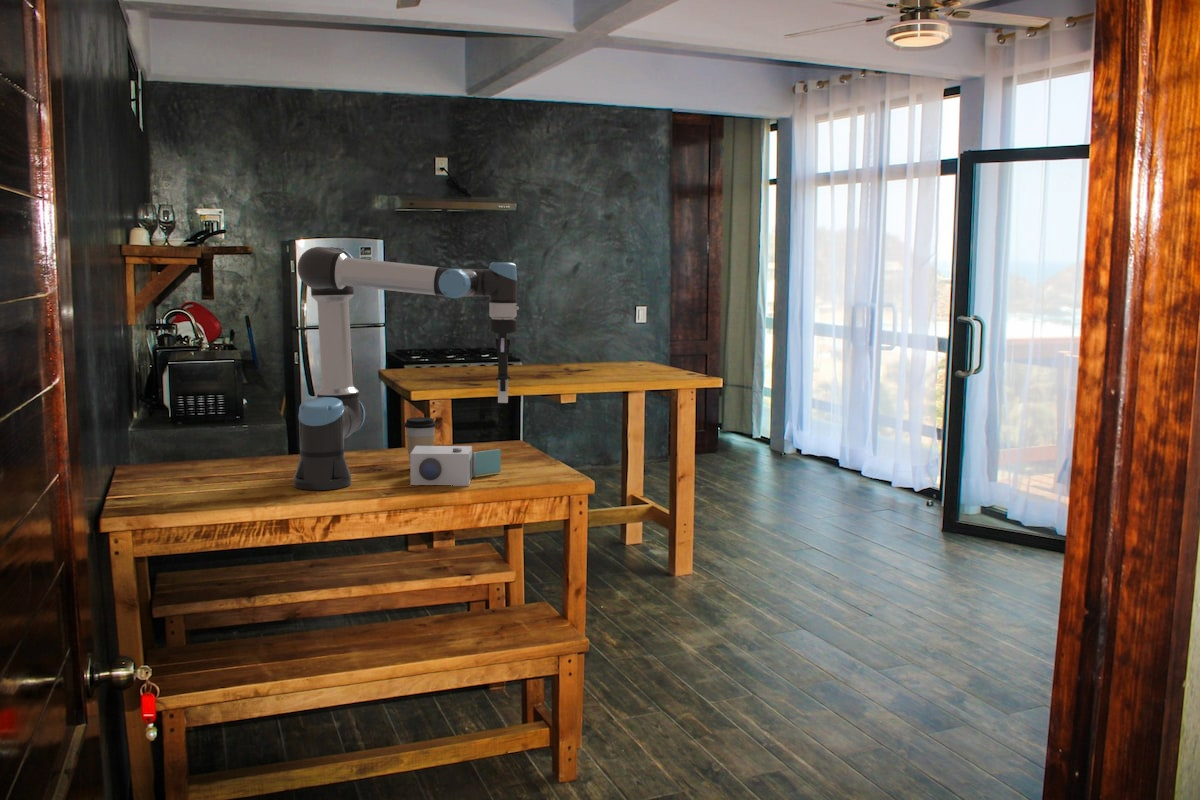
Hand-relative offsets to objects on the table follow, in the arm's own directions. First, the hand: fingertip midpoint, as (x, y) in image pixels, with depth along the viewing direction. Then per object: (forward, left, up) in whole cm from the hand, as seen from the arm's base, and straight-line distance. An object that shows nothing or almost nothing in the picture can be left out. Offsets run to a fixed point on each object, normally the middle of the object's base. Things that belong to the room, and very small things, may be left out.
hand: (502, 402), depth 276 cm
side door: (-5, +7, -22) cm, 24 cm away
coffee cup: (-25, +16, -23) cm, 37 cm away
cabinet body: (-17, -1, -22) cm, 28 cm away
